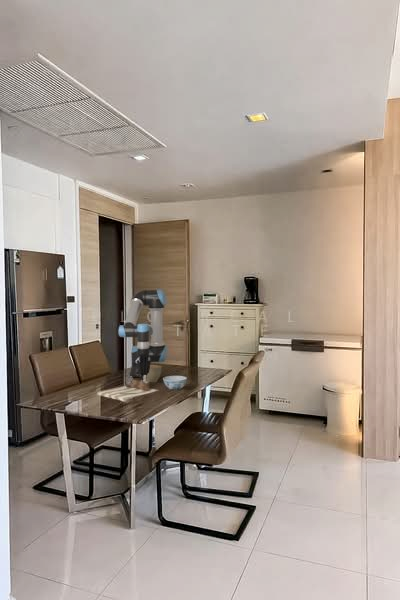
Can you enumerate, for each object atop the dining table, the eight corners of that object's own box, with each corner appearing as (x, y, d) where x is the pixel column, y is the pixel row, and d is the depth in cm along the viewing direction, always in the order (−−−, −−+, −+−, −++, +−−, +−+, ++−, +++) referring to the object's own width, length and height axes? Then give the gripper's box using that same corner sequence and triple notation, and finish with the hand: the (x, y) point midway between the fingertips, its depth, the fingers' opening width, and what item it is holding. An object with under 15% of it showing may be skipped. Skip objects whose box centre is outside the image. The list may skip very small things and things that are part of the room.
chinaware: (160, 392, 256) (160, 380, 256) (166, 387, 271) (165, 375, 271) (184, 393, 254) (184, 380, 254) (188, 387, 269) (188, 376, 269)
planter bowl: (166, 380, 291) (165, 365, 291) (154, 385, 276) (153, 369, 276) (146, 379, 297) (146, 364, 297) (134, 383, 283) (133, 367, 283)
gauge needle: (124, 386, 265) (124, 377, 265) (130, 384, 269) (130, 376, 269) (145, 390, 253) (145, 381, 253) (150, 389, 257) (150, 380, 257)
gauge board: (96, 394, 252) (96, 392, 252) (130, 386, 273) (130, 384, 273) (126, 401, 235) (125, 398, 235) (159, 392, 256) (159, 390, 256)
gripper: (139, 349, 254) (140, 387, 254) (154, 347, 264) (155, 384, 264) (131, 348, 259) (131, 386, 259) (146, 346, 269) (147, 382, 269)
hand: (143, 385), depth 261 cm, fingers closed
